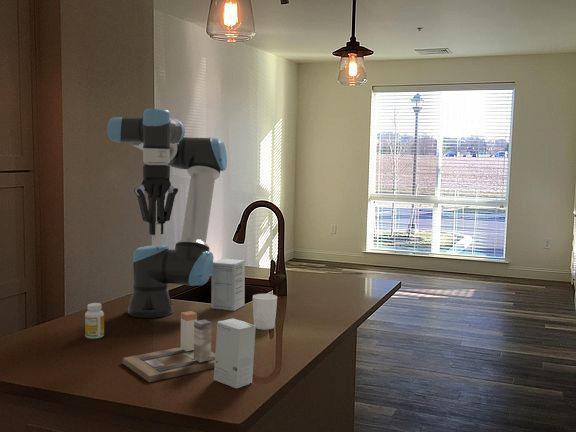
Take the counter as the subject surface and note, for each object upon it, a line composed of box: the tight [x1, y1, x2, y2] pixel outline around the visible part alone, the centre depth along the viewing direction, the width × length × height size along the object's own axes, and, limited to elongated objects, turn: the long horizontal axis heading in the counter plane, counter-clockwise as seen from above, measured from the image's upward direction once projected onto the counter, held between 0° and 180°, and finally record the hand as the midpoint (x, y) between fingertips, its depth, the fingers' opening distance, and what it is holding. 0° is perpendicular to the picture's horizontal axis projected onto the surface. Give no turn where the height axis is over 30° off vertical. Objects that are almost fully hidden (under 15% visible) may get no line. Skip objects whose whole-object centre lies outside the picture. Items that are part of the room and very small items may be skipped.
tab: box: [180, 310, 198, 351], centre depth 170 cm, size 3×3×10 cm
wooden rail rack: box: [122, 319, 215, 383], centre depth 163 cm, size 22×16×12 cm
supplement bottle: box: [84, 302, 105, 340], centre depth 185 cm, size 5×5×10 cm
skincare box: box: [213, 317, 257, 389], centre depth 151 cm, size 8×6×15 cm
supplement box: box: [210, 258, 246, 312], centre depth 224 cm, size 10×9×17 cm
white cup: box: [252, 293, 278, 331], centre depth 200 cm, size 8×8×10 cm
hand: (156, 245), depth 180 cm, fingers closed
